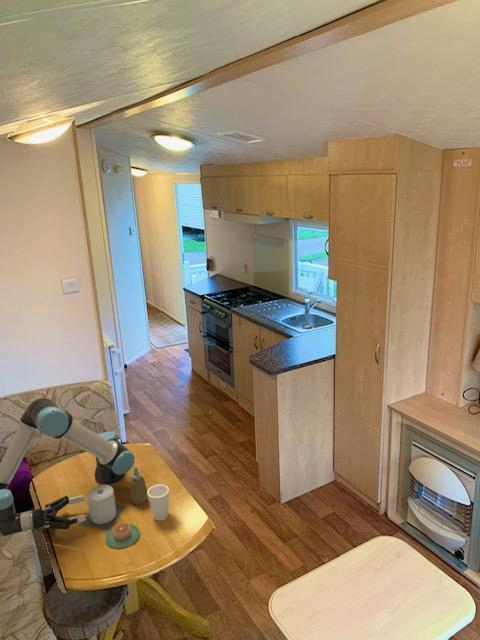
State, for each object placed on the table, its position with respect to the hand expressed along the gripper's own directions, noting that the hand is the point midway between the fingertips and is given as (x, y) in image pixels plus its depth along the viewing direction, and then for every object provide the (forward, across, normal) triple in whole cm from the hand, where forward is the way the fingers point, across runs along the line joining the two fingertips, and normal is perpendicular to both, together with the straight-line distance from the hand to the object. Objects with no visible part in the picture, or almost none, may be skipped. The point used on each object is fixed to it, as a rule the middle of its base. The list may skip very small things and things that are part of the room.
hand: (84, 507), depth 216 cm
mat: (+7, 0, -7) cm, 10 cm away
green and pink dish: (+14, +16, -7) cm, 23 cm away
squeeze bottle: (+24, -5, -7) cm, 25 cm away
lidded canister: (+7, 0, -6) cm, 10 cm away
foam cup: (+31, +9, -7) cm, 33 cm away
